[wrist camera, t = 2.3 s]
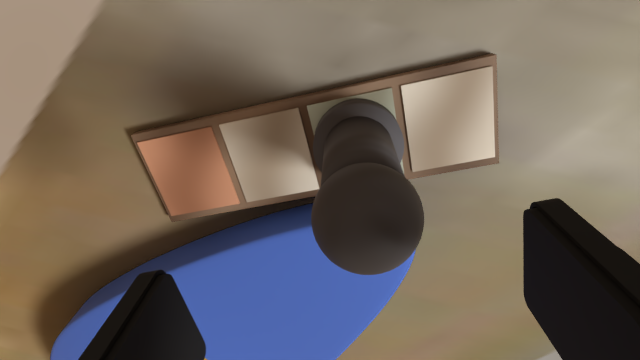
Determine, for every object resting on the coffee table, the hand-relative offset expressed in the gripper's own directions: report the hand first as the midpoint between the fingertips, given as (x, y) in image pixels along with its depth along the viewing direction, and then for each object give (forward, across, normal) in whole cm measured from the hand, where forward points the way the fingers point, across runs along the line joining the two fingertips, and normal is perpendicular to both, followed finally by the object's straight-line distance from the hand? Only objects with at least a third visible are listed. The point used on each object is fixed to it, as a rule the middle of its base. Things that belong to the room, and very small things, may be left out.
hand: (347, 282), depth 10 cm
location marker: (+10, +8, +9) cm, 16 cm away
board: (+9, +1, -1) cm, 9 cm away
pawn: (+9, -1, -1) cm, 9 cm away
